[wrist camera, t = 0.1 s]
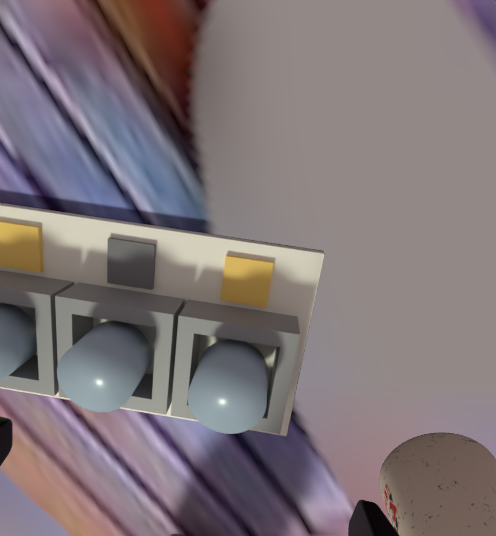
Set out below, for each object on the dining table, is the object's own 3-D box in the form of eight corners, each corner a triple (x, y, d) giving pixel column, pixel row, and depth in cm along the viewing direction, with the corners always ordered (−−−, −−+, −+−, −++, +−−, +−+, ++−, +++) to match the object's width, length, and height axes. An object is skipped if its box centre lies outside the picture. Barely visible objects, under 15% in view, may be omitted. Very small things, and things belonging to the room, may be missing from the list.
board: (286, 428, 25) (287, 465, 22) (-18, 377, 26) (-59, 406, 23) (322, 250, 21) (331, 265, 18) (-40, 196, 22) (-92, 201, 19)
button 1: (262, 404, 22) (260, 439, 19) (196, 393, 22) (184, 426, 19) (272, 345, 21) (272, 373, 18) (202, 333, 21) (191, 360, 18)
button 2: (150, 385, 22) (131, 417, 19) (86, 375, 22) (58, 405, 19) (153, 326, 21) (134, 351, 18) (85, 315, 21) (55, 338, 18)
